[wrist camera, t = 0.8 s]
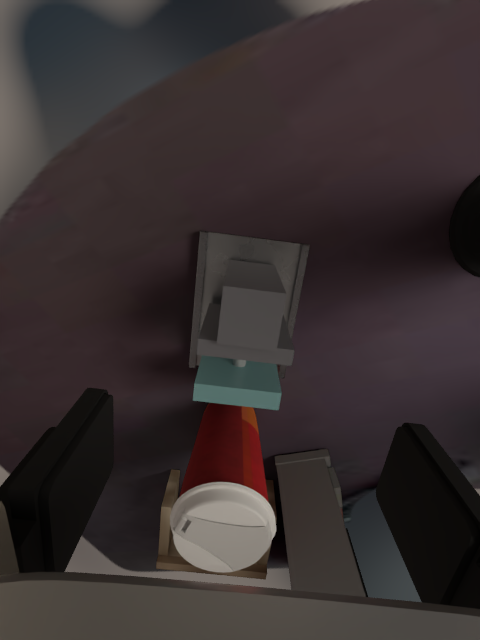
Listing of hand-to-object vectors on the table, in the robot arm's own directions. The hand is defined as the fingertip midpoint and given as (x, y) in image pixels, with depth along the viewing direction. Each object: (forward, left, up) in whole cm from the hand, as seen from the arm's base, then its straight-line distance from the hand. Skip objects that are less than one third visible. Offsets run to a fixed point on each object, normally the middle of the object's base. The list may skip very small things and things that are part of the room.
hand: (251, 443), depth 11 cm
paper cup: (0, +15, -22) cm, 27 cm away
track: (0, +3, -22) cm, 22 cm away
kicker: (0, +3, -21) cm, 21 cm away
